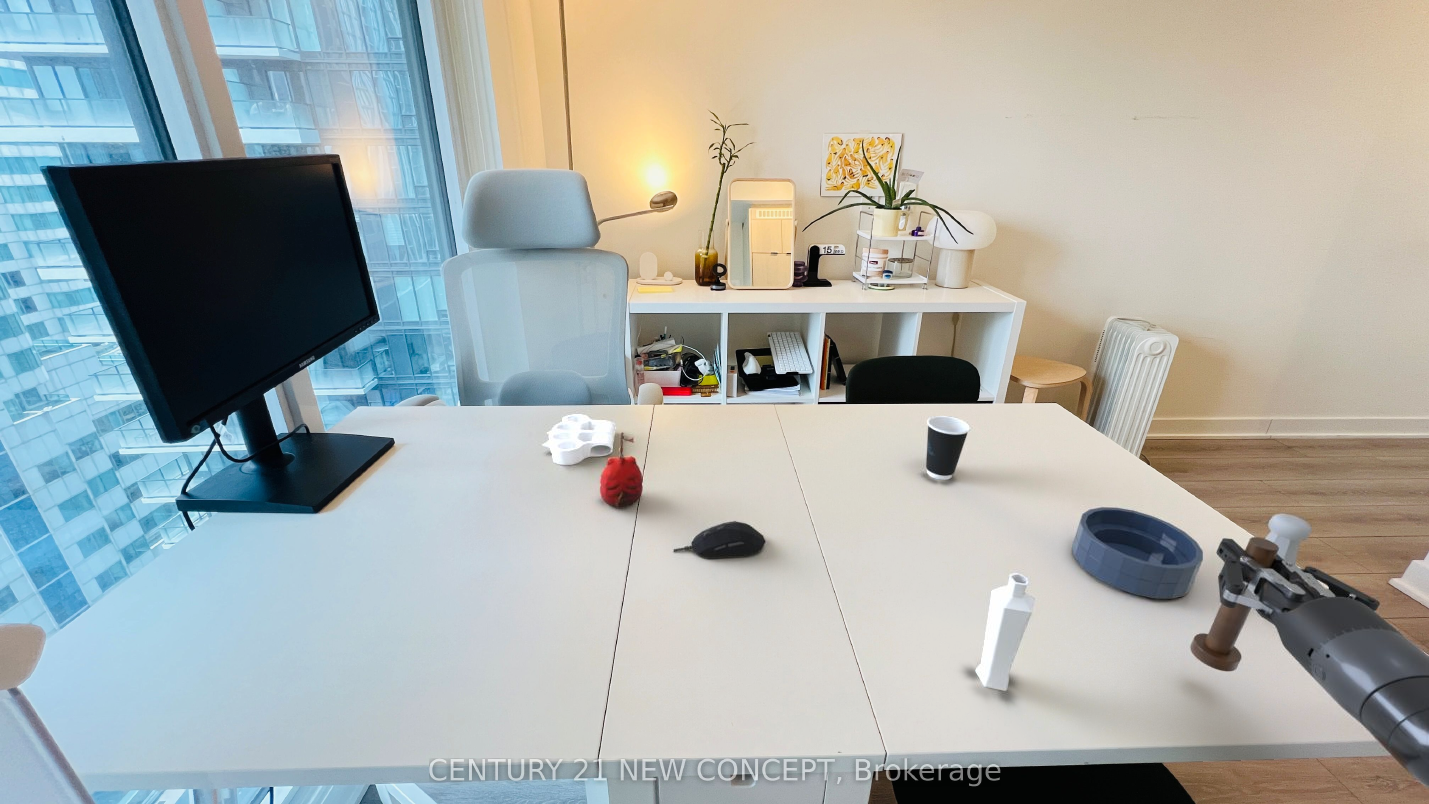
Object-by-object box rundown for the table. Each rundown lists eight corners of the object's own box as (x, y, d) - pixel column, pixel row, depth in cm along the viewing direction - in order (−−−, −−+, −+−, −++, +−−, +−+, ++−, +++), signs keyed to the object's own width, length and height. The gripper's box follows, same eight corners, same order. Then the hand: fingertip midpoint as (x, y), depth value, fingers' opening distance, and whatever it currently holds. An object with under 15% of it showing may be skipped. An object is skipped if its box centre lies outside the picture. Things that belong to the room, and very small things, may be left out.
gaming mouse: (671, 539, 98) (671, 519, 96) (759, 532, 100) (760, 512, 98) (675, 564, 92) (675, 542, 90) (768, 555, 94) (770, 534, 93)
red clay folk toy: (640, 488, 112) (637, 416, 106) (646, 508, 106) (643, 432, 100) (599, 493, 110) (594, 419, 104) (602, 514, 104) (597, 437, 98)
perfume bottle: (993, 698, 70) (1021, 597, 64) (966, 670, 74) (990, 572, 68) (1022, 687, 72) (1052, 587, 66) (994, 660, 75) (1020, 563, 70)
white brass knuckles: (611, 464, 121) (537, 466, 119) (617, 426, 137) (552, 427, 136) (610, 449, 119) (535, 451, 118) (616, 413, 136) (551, 414, 135)
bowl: (1190, 562, 95) (1203, 530, 92) (1188, 617, 83) (1203, 583, 81) (1079, 526, 103) (1088, 496, 101) (1063, 572, 92) (1073, 539, 89)
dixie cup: (968, 476, 119) (979, 426, 114) (944, 487, 114) (954, 436, 110) (934, 460, 125) (943, 412, 120) (910, 470, 120) (918, 421, 116)
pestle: (1236, 654, 70) (1289, 541, 64) (1238, 678, 67) (1294, 561, 61) (1190, 637, 73) (1237, 526, 67) (1189, 659, 70) (1239, 545, 63)
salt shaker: (1295, 607, 85) (1334, 532, 80) (1256, 607, 85) (1292, 531, 80) (1261, 580, 91) (1294, 508, 86) (1223, 580, 91) (1255, 507, 86)
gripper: (1481, 643, 49) (1320, 525, 65) (1292, 620, 51) (1181, 511, 67) (1437, 708, 52) (1293, 580, 68) (1260, 685, 54) (1160, 565, 70)
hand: (1238, 546), depth 67 cm, fingers closed on pestle, 2 cm apart
